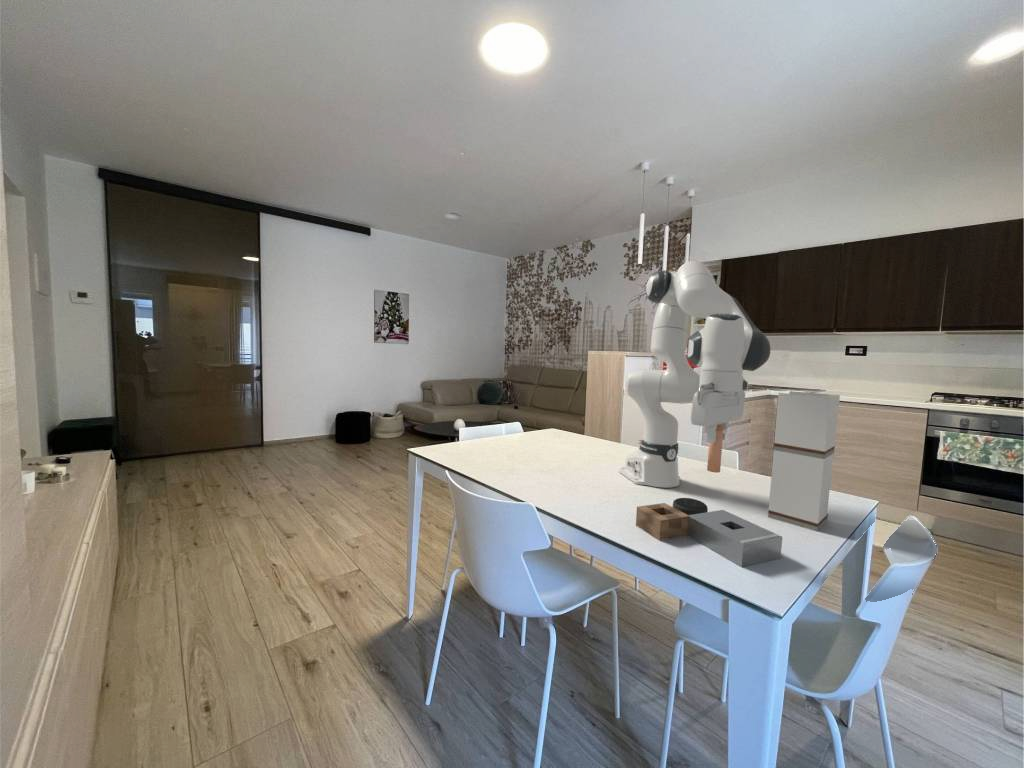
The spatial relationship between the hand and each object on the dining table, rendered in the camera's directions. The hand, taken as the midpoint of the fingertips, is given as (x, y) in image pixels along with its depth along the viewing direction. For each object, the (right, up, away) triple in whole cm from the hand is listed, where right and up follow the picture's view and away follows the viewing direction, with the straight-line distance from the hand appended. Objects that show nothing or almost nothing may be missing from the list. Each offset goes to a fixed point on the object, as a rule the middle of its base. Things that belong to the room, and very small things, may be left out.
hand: (715, 441), depth 98 cm
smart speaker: (+1, -24, +18) cm, 29 cm away
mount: (-10, -24, +8) cm, 27 cm away
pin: (0, -7, +1) cm, 7 cm away
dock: (+4, -25, 0) cm, 25 cm away
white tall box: (+31, -24, +17) cm, 43 cm away
